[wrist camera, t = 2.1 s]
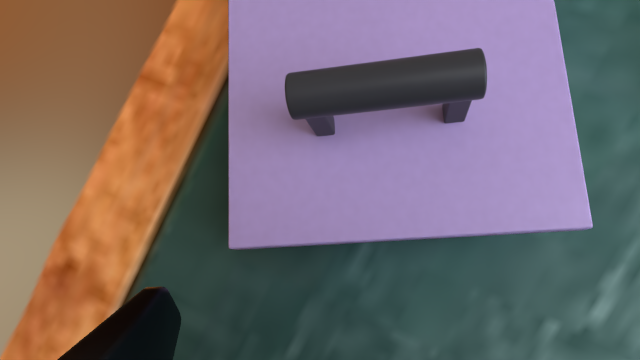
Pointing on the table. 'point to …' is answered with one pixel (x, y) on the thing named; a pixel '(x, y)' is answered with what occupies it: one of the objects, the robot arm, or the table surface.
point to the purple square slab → (399, 122)
